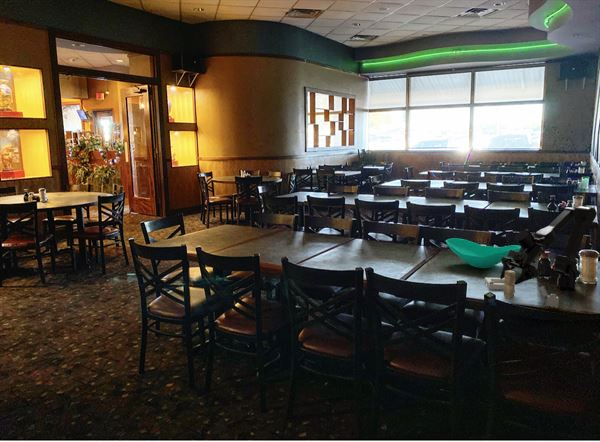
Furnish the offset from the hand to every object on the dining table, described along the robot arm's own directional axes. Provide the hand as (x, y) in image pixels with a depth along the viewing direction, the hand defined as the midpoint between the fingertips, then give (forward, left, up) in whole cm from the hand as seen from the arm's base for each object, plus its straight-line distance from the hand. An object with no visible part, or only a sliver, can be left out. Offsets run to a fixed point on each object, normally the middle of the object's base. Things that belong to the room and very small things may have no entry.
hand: (507, 281), depth 207 cm
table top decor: (+12, -49, -7) cm, 51 cm away
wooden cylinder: (-1, -1, -7) cm, 7 cm away
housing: (+3, -15, -7) cm, 17 cm away
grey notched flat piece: (-16, +7, -7) cm, 19 cm away
